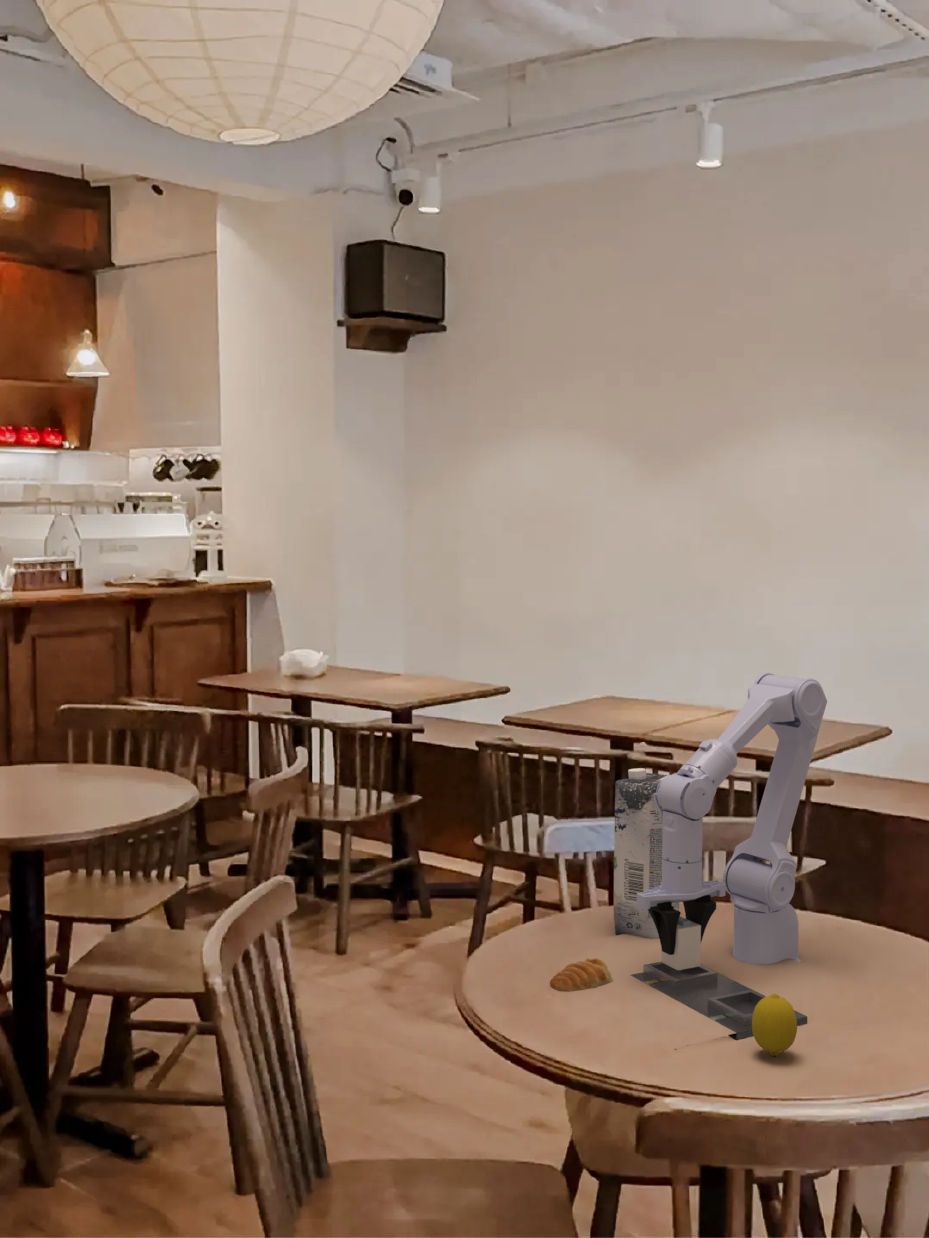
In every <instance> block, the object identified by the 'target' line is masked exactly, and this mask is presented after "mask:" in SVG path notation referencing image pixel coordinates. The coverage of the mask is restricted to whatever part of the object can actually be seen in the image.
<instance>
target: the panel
mask: <svg viewBox="0 0 929 1238" xmlns="http://www.w3.org/2000/svg"><path fill="white" fill-rule="evenodd" d="M642 970H643V971H642V972H638V973H632V974H630V976H631V977H632V978H634V979H637V980H639V981H640V982H641V983H644V984H646V985H648V986H650V987H651V988H653V989H655V990H656V991H659V992H661V993H662V994H664V995H666V996H667V997H670V998H672V999H673V1000H674V1001H677V1002H679V1003H680V1004H683V1005H684V1006H686V1007H688V1008H690V1009H692V1010H694V1011H695V1012H698V1013H699V1014H701V1015H703V1016H705V1017H706V1018H708V1019H710V1020H712V1021H714V1022H715V1023H718V1024H720V1025H721V1026H723V1027H725V1028H726V1029H729V1030H730V1031H732V1032H734V1033H732V1034H731V1033H730V1034H727V1036H728V1037H731V1038H732V1039H733V1040H736V1041H739V1040H742V1039H747V1038H752V1037H754V1036H753V1032H752V1017H753V1012H754V1009H755V1007H756V1005H757V1004H758V1002H759V1001H760V1000H761V999H763V998H765V997H767V996H766V995H764V994H763V993H761V992H758V991H756V990H754V989H752V988H749V987H748V986H746V985H744V984H743V983H742V984H741V983H740V982H738V981H735V980H734V979H731V978H729V977H728V976H725V975H724V974H721V973H719V972H717V971H716V970H713V969H711V968H709V967H708V966H705V965H703V964H701V963H700V966H698V967H693V968H688V969H683V970H676V969H674V968H672V967H670V966H668V965H666V964H664V963H662V962H661V961H656V962H652V963H647V964H645V963H644V964H643V969H642ZM794 1012H795V1015H796V1020H797V1027H800V1026H804V1025H807V1024H808V1016H807V1015H805V1014H803V1013H801V1012H799V1011H797V1010H795V1009H794Z"/></svg>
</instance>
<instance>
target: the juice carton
mask: <svg viewBox="0 0 929 1238" xmlns="http://www.w3.org/2000/svg"><path fill="white" fill-rule="evenodd" d="M627 770H628V771H627V774H628V778H623V779H618V780H616V781H615V785H614V787H615V789H614V790H615V791H614V795H615V797H614V800H615V801H614V837H613V838H614V841H613V842H614V843H613V846H614V847H613V848H614V850H613V853H614V854H613V855H614V856H613V865H614V867H613V923H614V932H615V935H616V936H621V935H630V936H631V935H632V936H638V937H643V938H648V939H654V940H656V939H657V940H658V939H659V935H658V932H657V929H656V926H655V923H654V921H653V919H652V917H651V915H650V913H649V911H648V909H646V910H644V909H642V908H639V907H637V893H641V892H645V891H648V890H650V889H653V888H656V887H658V886H661V882H662V828H663V824H662V823H661V821H660V813H659V810H658V808H657V807H656V805H655V802H654V794H656V790H657V787H658V785H659V783H660V781H661V780H662V779H664V778H665V777H666V776H668V775H669V774H663V773H662V774H659V773H652V772H651V773H650V772H647V771H646V768H644V767H643V768H642V767H640V768H639V767H638V768H630V769H627ZM672 906H674V909H675V910H677V911H680V902H677V903H672Z"/></svg>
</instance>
